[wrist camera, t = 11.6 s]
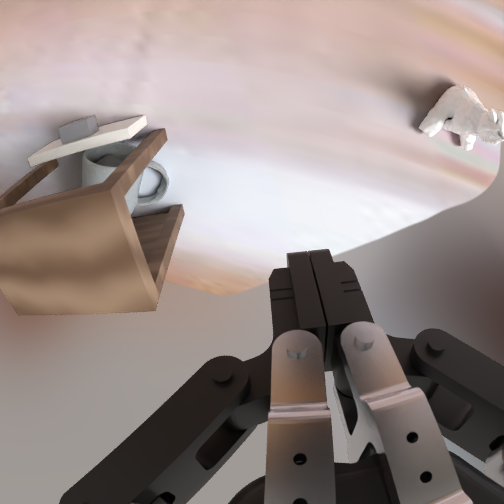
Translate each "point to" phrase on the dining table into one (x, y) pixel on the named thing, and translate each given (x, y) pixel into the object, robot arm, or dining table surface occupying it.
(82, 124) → the pull-out front
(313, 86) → the dining table surface
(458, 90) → the seated beast figurine
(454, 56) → the dining table surface
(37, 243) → the brown wooden small table
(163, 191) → the ceramic mug
